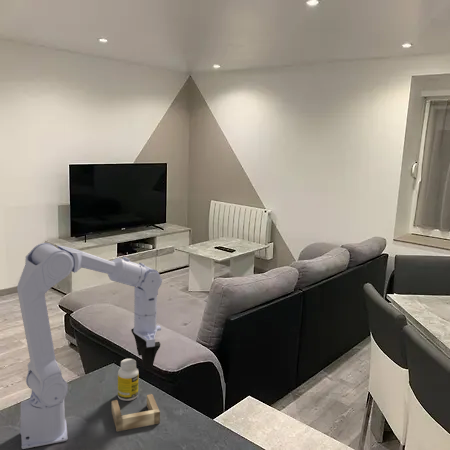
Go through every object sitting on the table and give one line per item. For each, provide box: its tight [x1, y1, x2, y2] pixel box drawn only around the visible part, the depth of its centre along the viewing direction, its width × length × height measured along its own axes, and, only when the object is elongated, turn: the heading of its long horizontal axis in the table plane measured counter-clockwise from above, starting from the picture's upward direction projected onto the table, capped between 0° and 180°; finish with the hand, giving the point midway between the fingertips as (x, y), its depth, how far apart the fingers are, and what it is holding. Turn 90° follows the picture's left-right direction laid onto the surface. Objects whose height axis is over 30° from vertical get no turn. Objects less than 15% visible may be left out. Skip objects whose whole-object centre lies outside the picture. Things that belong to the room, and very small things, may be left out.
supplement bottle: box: [117, 358, 140, 402], centre depth 120 cm, size 5×5×10 cm
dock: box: [111, 393, 161, 432], centre depth 112 cm, size 10×8×3 cm
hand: (145, 361), depth 119 cm, fingers open, 7 cm apart
